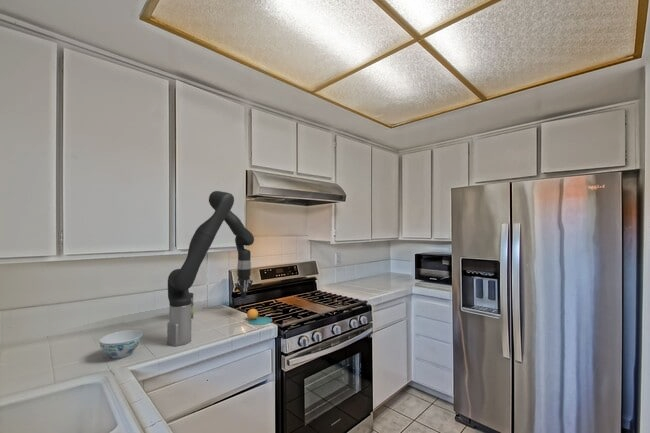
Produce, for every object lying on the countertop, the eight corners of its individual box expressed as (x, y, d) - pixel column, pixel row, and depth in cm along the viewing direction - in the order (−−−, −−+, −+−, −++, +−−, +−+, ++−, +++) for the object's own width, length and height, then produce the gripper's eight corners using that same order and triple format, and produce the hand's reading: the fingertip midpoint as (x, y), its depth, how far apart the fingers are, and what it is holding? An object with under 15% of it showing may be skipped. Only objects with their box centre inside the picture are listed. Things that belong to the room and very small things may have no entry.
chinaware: (130, 345, 140) (130, 327, 140) (149, 352, 132) (149, 334, 132) (91, 358, 127) (92, 338, 127) (110, 366, 119) (110, 346, 119)
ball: (243, 315, 175) (250, 323, 174) (247, 309, 172) (254, 318, 171) (250, 310, 180) (257, 318, 179) (255, 304, 177) (261, 312, 176)
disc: (261, 326, 164) (261, 325, 164) (243, 322, 171) (243, 322, 171) (277, 319, 175) (277, 319, 175) (259, 316, 182) (259, 315, 182)
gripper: (240, 269, 172) (240, 301, 172) (256, 267, 184) (256, 296, 183) (230, 268, 176) (230, 299, 175) (247, 266, 187) (246, 295, 187)
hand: (243, 298), depth 179 cm, fingers closed
